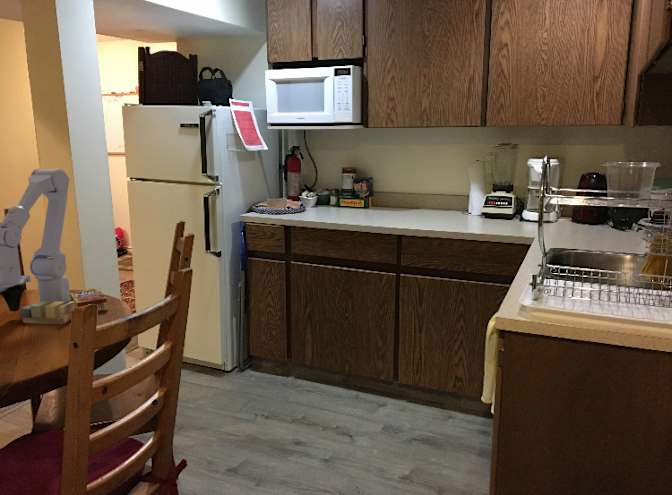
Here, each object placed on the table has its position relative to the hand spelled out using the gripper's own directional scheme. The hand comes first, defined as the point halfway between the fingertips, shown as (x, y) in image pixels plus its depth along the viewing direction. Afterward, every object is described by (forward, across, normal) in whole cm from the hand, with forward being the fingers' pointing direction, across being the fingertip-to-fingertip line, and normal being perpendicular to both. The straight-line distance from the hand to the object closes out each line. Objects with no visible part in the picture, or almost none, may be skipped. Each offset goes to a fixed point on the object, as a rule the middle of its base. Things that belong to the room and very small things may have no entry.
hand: (14, 310), depth 175 cm
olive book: (+2, 0, -9) cm, 9 cm away
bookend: (+2, 0, -5) cm, 6 cm away
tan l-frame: (+2, 0, -12) cm, 12 cm away
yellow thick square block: (+2, 0, -14) cm, 14 cm away
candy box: (0, +8, -21) cm, 22 cm away
